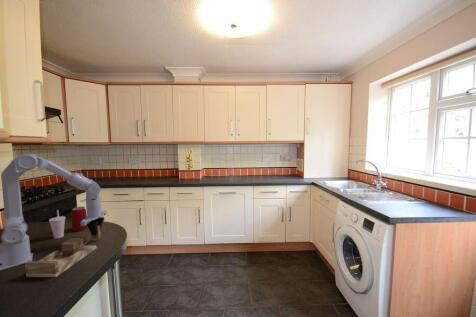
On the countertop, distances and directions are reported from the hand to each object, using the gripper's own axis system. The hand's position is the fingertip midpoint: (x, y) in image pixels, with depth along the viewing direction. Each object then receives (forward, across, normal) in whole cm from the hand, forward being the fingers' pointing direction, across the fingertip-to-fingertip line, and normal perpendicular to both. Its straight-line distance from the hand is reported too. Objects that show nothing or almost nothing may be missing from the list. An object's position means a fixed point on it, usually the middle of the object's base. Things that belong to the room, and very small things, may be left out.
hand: (95, 234), depth 100 cm
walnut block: (+2, -7, 0) cm, 8 cm away
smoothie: (+3, +4, +23) cm, 23 cm away
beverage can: (+3, +13, +19) cm, 23 cm away
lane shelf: (+3, -17, 0) cm, 17 cm away
